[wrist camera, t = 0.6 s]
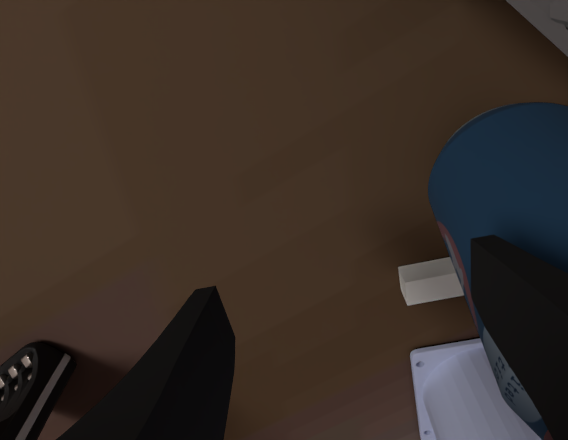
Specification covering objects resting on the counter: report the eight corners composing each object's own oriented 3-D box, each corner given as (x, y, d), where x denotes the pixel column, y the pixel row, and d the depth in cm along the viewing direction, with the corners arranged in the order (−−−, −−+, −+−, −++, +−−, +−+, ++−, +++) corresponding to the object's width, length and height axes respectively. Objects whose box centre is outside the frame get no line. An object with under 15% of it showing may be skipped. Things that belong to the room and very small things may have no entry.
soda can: (393, 192, 20) (469, 464, 12) (486, 62, 16) (721, 346, 7) (508, 228, 22) (650, 491, 13) (622, 119, 18) (949, 408, 9)
